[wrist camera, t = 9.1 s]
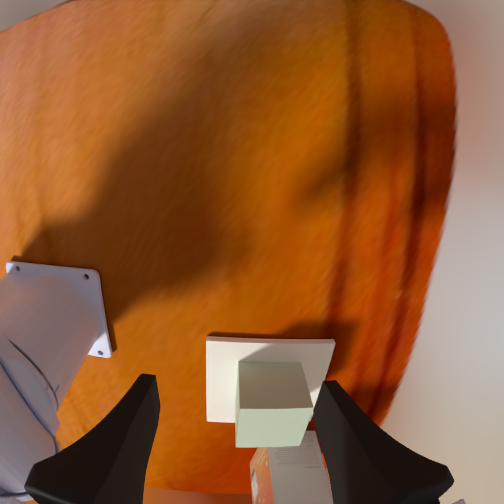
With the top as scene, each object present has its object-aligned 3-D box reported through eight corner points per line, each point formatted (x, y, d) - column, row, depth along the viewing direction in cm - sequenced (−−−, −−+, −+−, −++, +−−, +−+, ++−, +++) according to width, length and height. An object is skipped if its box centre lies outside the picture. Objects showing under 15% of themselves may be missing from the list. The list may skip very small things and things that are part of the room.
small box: (265, 427, 27) (275, 517, 17) (316, 429, 28) (337, 512, 18) (248, 463, 30) (253, 538, 20) (293, 464, 30) (305, 535, 21)
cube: (234, 402, 25) (236, 447, 20) (238, 361, 23) (239, 408, 18) (290, 402, 25) (299, 445, 20) (300, 362, 23) (313, 407, 19)
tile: (207, 416, 26) (207, 421, 25) (206, 336, 23) (206, 340, 22) (309, 416, 27) (310, 421, 26) (333, 339, 23) (335, 343, 23)
